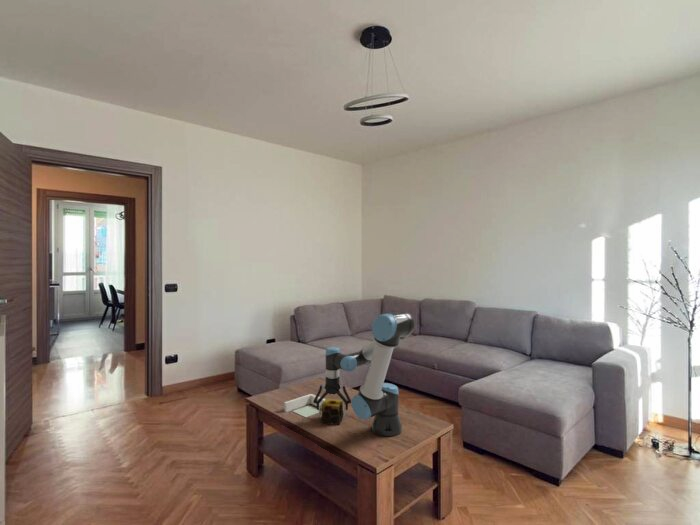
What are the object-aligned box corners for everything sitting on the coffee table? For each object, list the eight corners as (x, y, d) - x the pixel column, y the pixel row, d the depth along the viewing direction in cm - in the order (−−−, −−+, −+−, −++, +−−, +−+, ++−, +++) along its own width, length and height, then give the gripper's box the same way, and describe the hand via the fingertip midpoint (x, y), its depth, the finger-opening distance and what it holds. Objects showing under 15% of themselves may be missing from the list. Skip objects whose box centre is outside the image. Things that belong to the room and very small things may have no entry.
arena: (331, 410, 220) (331, 401, 220) (303, 420, 206) (303, 411, 206) (311, 401, 233) (311, 393, 233) (284, 411, 219) (284, 402, 219)
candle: (339, 425, 200) (339, 406, 200) (320, 423, 202) (320, 405, 202) (343, 417, 210) (343, 399, 210) (325, 416, 212) (325, 398, 212)
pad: (322, 411, 218) (322, 411, 218) (305, 417, 209) (305, 417, 209) (308, 405, 226) (308, 405, 226) (292, 411, 218) (292, 411, 218)
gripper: (355, 374, 210) (355, 412, 210) (310, 374, 209) (309, 412, 210) (355, 378, 202) (355, 418, 202) (308, 378, 202) (308, 418, 202)
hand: (332, 415), depth 206 cm, fingers open, 13 cm apart
